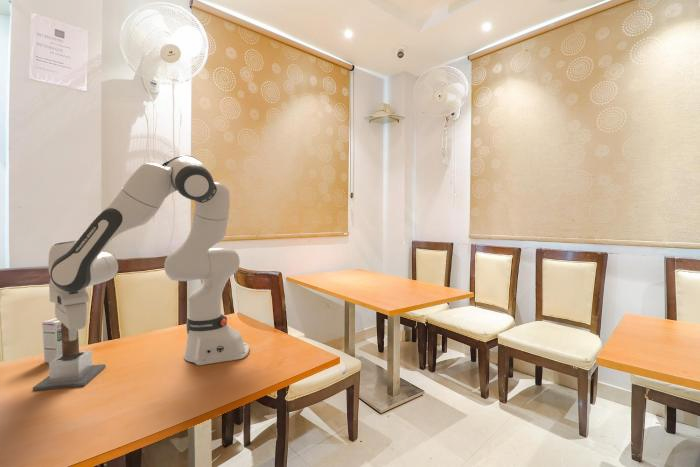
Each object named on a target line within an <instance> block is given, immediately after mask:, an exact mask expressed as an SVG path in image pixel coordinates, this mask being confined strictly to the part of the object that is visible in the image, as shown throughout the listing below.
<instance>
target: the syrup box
mask: <svg viewBox="0 0 700 467" xmlns="http://www.w3.org/2000/svg"><path fill="white" fill-rule="evenodd" d="M41 325H42V341H43V343H42V344H43V356H44V357H43V360H44V363H46V362H47V363H48V364H49V362H50V361H52V360H53V359H55V358H56V357H58V356H59V355H61V354H62V335H61V322H60V321H59V320H58V319H57V318H56V317H55V318H51V319H49V320H45V321H42V323H41Z"/></svg>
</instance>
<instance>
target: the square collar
mask: <svg viewBox="0 0 700 467" xmlns="http://www.w3.org/2000/svg"><path fill="white" fill-rule="evenodd" d="M92 354H93V353H92V350H79V354H77V355H74V356H70V357H63V356H62V354H61V355H59V356H58V357H56V358H55V359H53V360H52V361H50V362H49V363H48V368H49V369H48V371H49V373H48V374H49V375H48V376H46V377H45V378H44V379H42V380H41V381H39V382H38V383H37V384H35V385H34V386H33V387H32V392H33V391H34V392H36V391H45V390H58V389H67V388H69V389H70V388H78V387H79V388H80V387H86V386H87V384H89V383H90V382H91V381H92V380H94V379H95V377H97V376H98V375H99V374H100V373H101V372H102V371H104V369H105V368H106V363H104V364H93V359H92V358H93V357H92V356H93V355H92Z"/></svg>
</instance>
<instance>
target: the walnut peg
mask: <svg viewBox="0 0 700 467" xmlns="http://www.w3.org/2000/svg"><path fill="white" fill-rule="evenodd" d="M68 334H69V330H68V328H67V327H66V326H65V325H64V324H62V323H61V335H62V356H63V357H70V356H74V355H77V354H79V351H80V341H79V340H80V339H79V330H78V331H77V339H76V340H73V341H70V340H69V339H68Z"/></svg>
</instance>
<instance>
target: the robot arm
mask: <svg viewBox="0 0 700 467" xmlns="http://www.w3.org/2000/svg"><path fill="white" fill-rule="evenodd" d="M176 191H177V193H179V194H180V195H181V196H182V197H184V198H185V199H188V200H191V201H195V202H194V203H195V205H194V212H193V218H192V223H191V228H190V232H189V234H188V236H187V237H186V239H185V240H184V242H183V243H182V244H181V245H180V246H179V247H178V248H177V249H175V250H174V251H172V252H171V253H169V254H168V255H167V257H166V258H165V261H164V264H163V265H164V266H163V267H164V271H165V274H166V276H167V277H168V278H169V279H170V280H172V281H178V282H191V281H198V280H200V281H201V280H203V281H202V283H201V285H200V286H199V287H198V288H196V289H194V290H193V291H192V292H191V293H190V294H189V295H188V296H189V297H188V298H187V318H186V333H187V342H186V348H185V352H184V355H183V359H184V360H185V361H187V362H191V363H193V364H195V365H196V366H204V365H210V364H215V363H217V364H218V363H223V362H224V363H225V362H230V361H238V360H241V359H242V360H243V359H244V358H245V357H247V356H248V354H249V352H250V345H249V343H247V342H244V341H243V340H244V339H243V336H242V334H241V331H239V330H237V329H235V328H233V327H232V326H230V325H229V324H228V317H227V314H225V315H224V314H222V297H223V292H224V289H225V286H226V284H227V282H228V281H229V280H230V278H232V276H233V275H234V274H236V272H238V270H239V267H240V261H241V259H240V256H239V254H238V252H237V251H236V250H235V249H233V248H228V247H213V246H215V245H217V244H219V243H220V242H221V241H223V239H224V238H225V237H226V234H227V228H228V227H227V226H228V222H229V213H230V205H231V204H230V203H231V202H230V201H231V200H230V198H231V197H230V191H229V189H228V188H227V186H226V185H224V184H222V183H220V182H215V181H214V178H213V175H212V174H211V173H210V172H209V170H208V169H207V167H206V166H205V165H204V164H203V162H201V161H200V160H198V159H197V158H195V157H194V156H191V155H189V154H188V155H187V154H180V155H177V156H175V157H173V158H171V159H169V160H168V161H165V162H164V163H162V165H160V164H158V163H155V162H154V163H153V162H147V163H143V164H142V165H140V166H139V167H138V168H137V169H136V170H135V171H134V172H133V173H132V175H131V176H130V177H129V178H128V179H127V180H126V183H125V184H124V185H123V186H122V188H121V190H120V191H119V193H118V194H117V195H116V197H115V198H114V199H113V201H111V203H109V205H108V206H107V207H106V208H105V209H103V211H102V212H100V214H99V215H97V217H96V218H95V219H94V220H93V221H92V222H91V223H90V224H89V226H88V227H86V228H87V229H85V231H84V232H83V233H82V235H80V237H79V238H78V240H70V241H64V242H57V243H54V244H53V245H52V246H51V247H50V250H49V252H48V260H47V261H48V263H47V265H48V275H49V276H50V281H49V284H48V285H49V286H48V289H49V293H48V294H49V302H50V303H54V315H55V318H57V319H58V320H59V321H60V322H61V323H62V324H64V325H65V326H66V327H67V328H68V330H69V334H68V339H69V340H70V341H73V340H76V339H77V331H78V332H79V330H83V329H84V328H85V327H86V326H87V318H88V317H87V315H88V305H87V303H89V302H90V295H89V293H88V289H87V288H88V287H93V286H95V285H99V284H101V283H105V282H108V281H110V280H112V279H114V278H115V277H116V276H117V274H118V272H119V269H120V265H119V261H118V259H117V257H116V256H115V255H114V254H112V253H110V252H107V251H104V250H105V248H106V247H107V246H108V245H109V243H110V242H111V241H112V240H113V239H115V237H117V236H119V235H121V234H122V233H124V232H126V231H127V232H128V231H129V230H132V229H135V228H137V227H141V226H143V225H146V224H147V223H148V222H149V221H151V220H152V219H153V217H154V216H155V215H156V214H157V212H159V209H160V208H161V207H162V205H163V204H164V201H165V199H166V198H168V196H169V195H171V194H173V193H175V192H176Z"/></svg>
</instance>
